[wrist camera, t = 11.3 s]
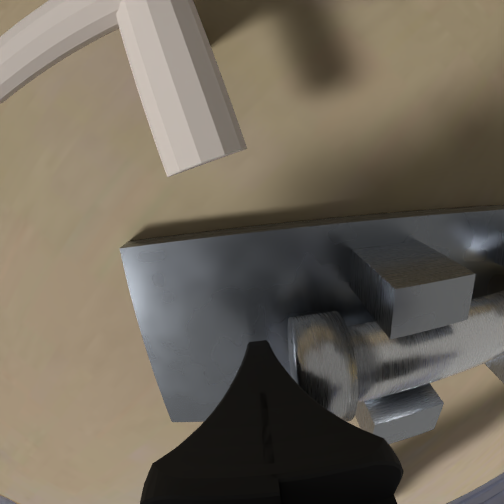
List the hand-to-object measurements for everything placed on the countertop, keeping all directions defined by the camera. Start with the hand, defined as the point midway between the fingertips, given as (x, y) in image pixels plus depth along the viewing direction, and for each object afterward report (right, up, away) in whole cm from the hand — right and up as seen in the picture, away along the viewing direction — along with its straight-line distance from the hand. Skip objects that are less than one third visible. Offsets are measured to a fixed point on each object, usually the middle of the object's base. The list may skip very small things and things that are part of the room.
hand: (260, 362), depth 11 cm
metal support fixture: (+8, +2, +2) cm, 9 cm away
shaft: (+8, +1, +1) cm, 8 cm away
